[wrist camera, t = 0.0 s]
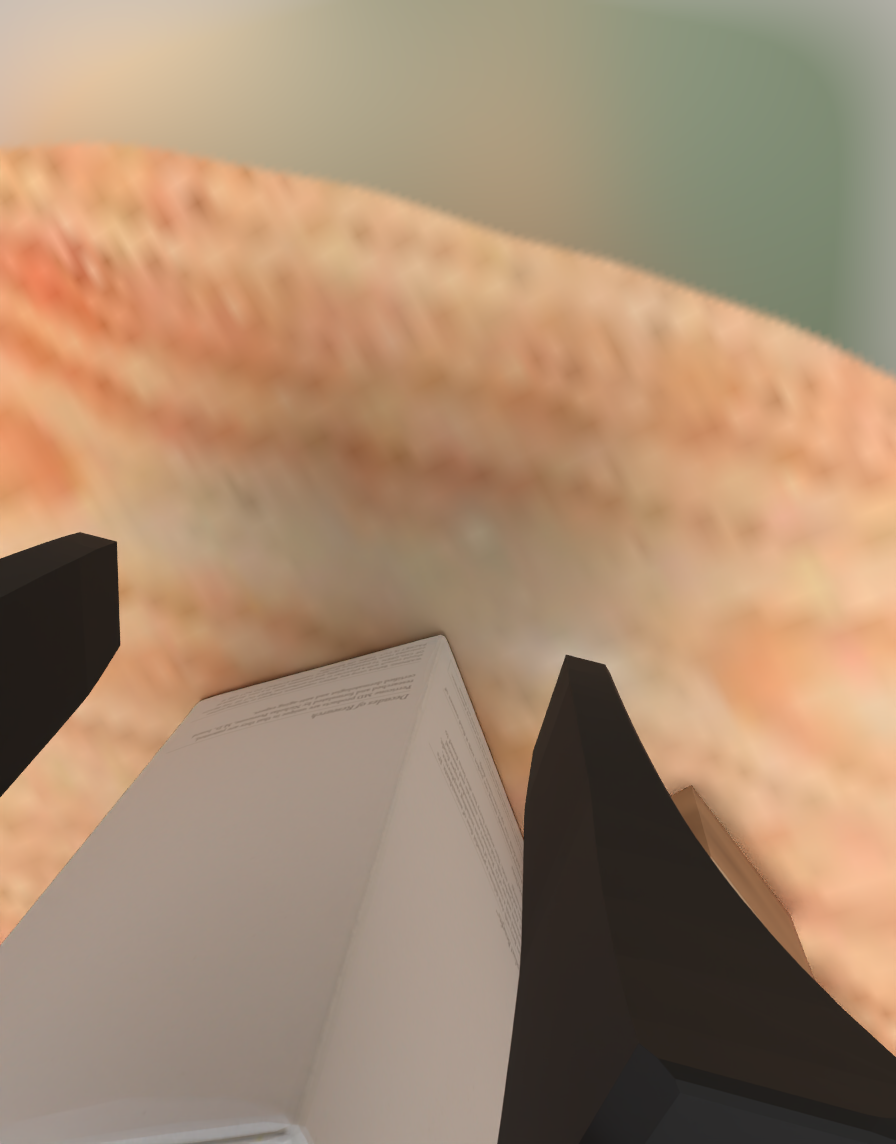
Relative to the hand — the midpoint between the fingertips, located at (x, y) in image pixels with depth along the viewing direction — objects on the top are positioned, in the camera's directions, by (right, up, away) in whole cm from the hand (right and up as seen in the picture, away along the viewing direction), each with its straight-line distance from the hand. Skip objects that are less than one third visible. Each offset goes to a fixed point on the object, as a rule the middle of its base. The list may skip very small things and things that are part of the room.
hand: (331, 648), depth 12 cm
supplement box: (-1, -6, +14) cm, 15 cm away
